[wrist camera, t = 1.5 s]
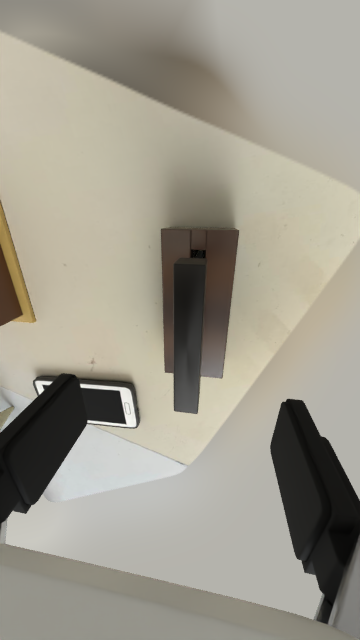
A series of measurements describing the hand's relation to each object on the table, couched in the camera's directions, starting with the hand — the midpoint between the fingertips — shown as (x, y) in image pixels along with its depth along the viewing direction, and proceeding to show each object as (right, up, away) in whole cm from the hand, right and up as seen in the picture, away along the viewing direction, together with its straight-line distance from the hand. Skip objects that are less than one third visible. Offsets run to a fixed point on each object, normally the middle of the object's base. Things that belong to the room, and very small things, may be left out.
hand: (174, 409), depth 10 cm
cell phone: (-13, -7, +21) cm, 26 cm away
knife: (+2, +6, +13) cm, 14 cm away
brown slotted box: (+2, +6, +13) cm, 14 cm away
